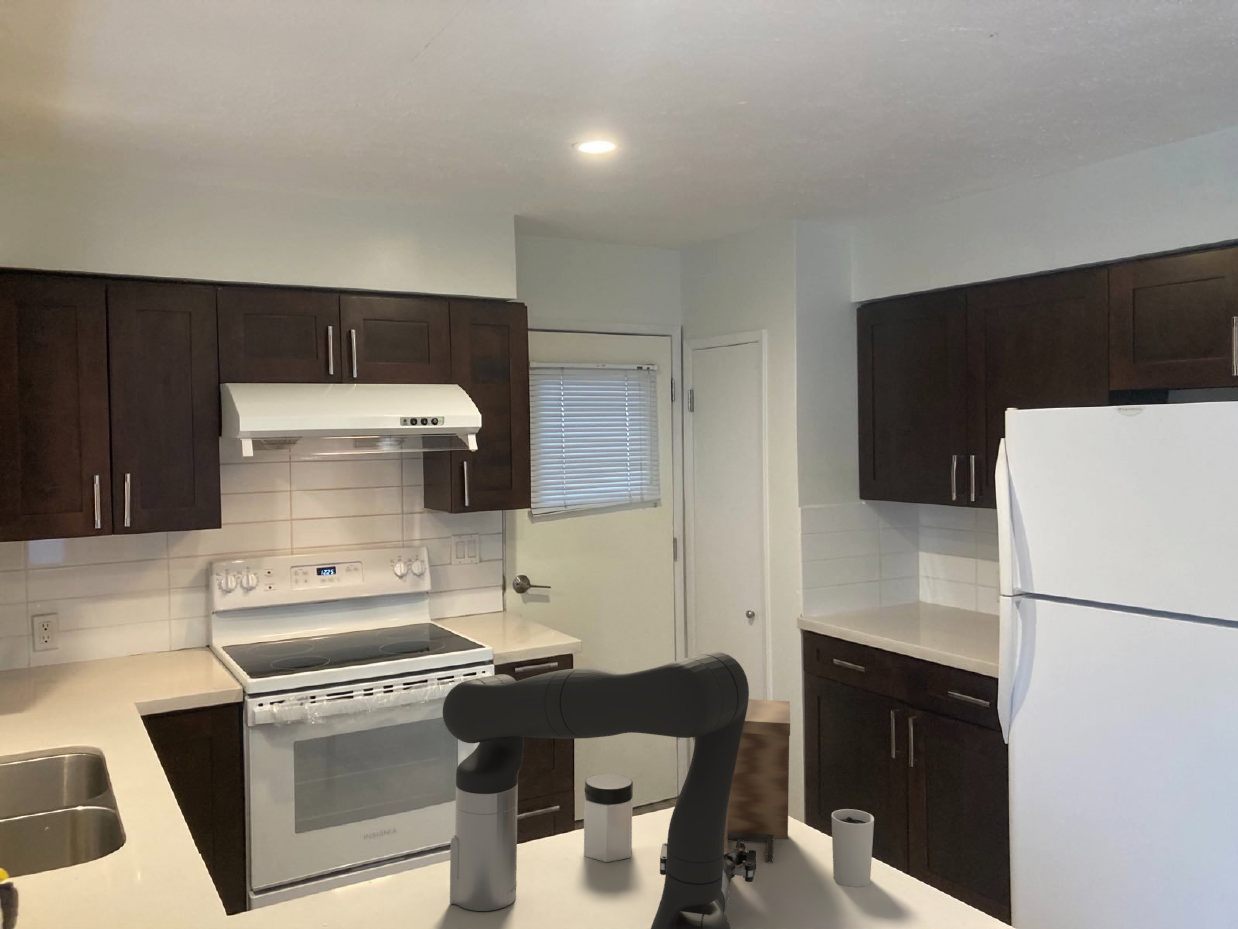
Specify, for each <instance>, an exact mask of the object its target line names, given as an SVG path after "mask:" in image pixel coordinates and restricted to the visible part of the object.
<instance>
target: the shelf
mask: <svg viewBox="0 0 1238 929" xmlns="http://www.w3.org/2000/svg"><path fill="white" fill-rule="evenodd" d="M790 702H791V701H789V700H788V701H787V700H772V699H771V700H769V699H754V698H753V699H752V698H751V699H750V698H749V700H748V708H747V713H746V718H745V723H744V727H743V732H742V736H741V741H740V745H739V750H738V755H737V760H736V765H735V770H734V775H733V780H732V785H731V791H730V797H729V802H728V836H727V841H732V842H734V841H735V842H736V841H737V839H739V840H741V842H742V843H745V842H746V843H757V844H759V843H760V844H766V863H769V864H770V863H771V864H772V863H773V862H774V839H785V840H788V839H789V792H790V791H789V787H790V786H789V785H790V784H789V780H790V779H789V774H790V736H791V705H790V704H791V703H790Z"/></svg>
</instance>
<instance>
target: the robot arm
mask: <svg viewBox="0 0 1238 929" xmlns="http://www.w3.org/2000/svg"><path fill="white" fill-rule="evenodd" d="M749 697H750V688H749V682H748V677H747V674H746V673H745V670H744V668H743V666H741V664H740V663H739V662H738V661H737V660H736V659H735V658H734V657H733V656H731V655H729V654H727V653H725V652H721V651H720V652H719V651H715V652H708V653H702V654H698V655H694V656H689V657H686V658H682V659H677V660H674V661H672V662H669V663H666V664H662V665H659V666H655V667H651V668H648V669H643V670H638V671H634V672H628V673H617V672H614V671H611V670H609V669H606V668H602V667H601V668H600V667H580V668H569V669H567V668H566V669H561V670H557V671H556V670H555V671H549V672H546V673H542V674H538V675H537V674H536V675H534V676H531V677H527V678H526V677H525V678H523V679H520V680H516V679H515V678H514V677H513V676H511V675H509V674H505V673H504V674H494V675H488V676H484V677H483V676H482V677H478V678H473V679H468V680H464V681H462V682H459V683H457V685H455V686H454V687H452V688H451V689H450V690H449V692H448V693H447V695H446V697H445V699H444V701H443V704H442V719H443V722H444V725H445V726H446V728H447V730H448V732H449V733H450V734H451V735H452V736H453V737H454V738H455V739H457V740H459V741H461V742H463V743H467V744H477V746H476V748H475V749H474V750H473V752H472V753H470V754H469V755H468V756H467V757H466V758H465V759H463V760H462V761H461V762H460V763H459V764H458V766H457V767H456V771H455V825H454V827H455V832H454V834H455V835H453V836H452V837H451V840H450V858H449V859H450V862H449V864H450V867H449V868H450V869H449V873H450V874H449V904H450V905H451V904H452V905H457V906H459V907H460V908H463V909H465V910H470V911H477V912H488V911H496V910H500V909H503V908H506V907H508V906H510V905H511V904H512V903H514V902H515V900H516V898H517V886H518V885H517V882H518V881H517V870H518V869H517V860H518V858H517V857H518V855H517V854H518V853H517V852H518V851H517V850H518V791H519V790H518V788H519V787H518V782H519V772H520V770H521V767H522V765H523V760H524V748H525V738H534V739H535V738H536V739H562V740H563V739H564V740H565V739H566V740H568V739H570V740H573V739H593V738H604V737H612V736H617V735H622V734H630V733H632V734H633V733H634V734H635V733H636V734H646V735H654V736H663V737H672V738H679V739H680V738H681V739H691V738H694V747H693V753H692V757H691V761H690V765H689V769H688V772H687V775H686V777H685V780H684V782H683V786H682V787H681V790H680V792H679V795H678V798H677V800H676V803H675V805H674V808H673V810H672V814H671V818H670V820H669V827H668V830H667V831H668V833H667V838H666V839H667V841H666V842H663V843H662V844H661V849H660V854H659V875H661V876H664V877H665V878H664V883H663V884H664V885H663V890H662V894H661V899H660V901H659V905H658V909H657V911H656V914H655V916H654V919H653V921H652V924H651V927H650V929H731V927H732V926H731V925H730V922H729V920H728V917H727V916H726V914H725V910H726V908H727V906H728V902H729V899H730V890H731V889H730V888H731V882H732V879H734V878H735V877H736V876H740V877H742V878H744V881H745V882H746V883H753V882H754V878H755V875H756V870H757V851H756V850H754V849H750V850H748V851H746V843H745V842H742V841H741V840H739V839H737V841H735V848H733V849H731V848H730V847H727V849H725V850H724V841H725V827H726V817H727V809H728V802H729V797H730V791H731V785H732V780H733V775H734V770H735V765H736V760H737V755H738V750H739V745H740V741H741V736H742V732H743V727H744V723H745V718H746V713H747V708H748V700H749V699H750V698H749ZM726 857H727V858H726Z"/></svg>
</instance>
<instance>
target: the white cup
mask: <svg viewBox="0 0 1238 929" xmlns="http://www.w3.org/2000/svg"><path fill="white" fill-rule="evenodd" d="M874 825H875V817H874V816H873V815H872V814H871V813H868V812H866V811H864V810H860V809H859V810H858V809H849V808H845V809H844V808H843V809H838V810H834V811H833V812H831V833H832V834H831V837H832V839H831V840H832V842H831V843H832V871H833V878H832V879H833V880H834V881H835V882H836V883H837V884H840V885H841V886H842V885H843V886H846V887H851V888H852V887H853V888H862V887H866V886H868V885H869V884H870V883H871V876H872V875H871V872H872V858H873V855H872V854H873V841H874V840H873V839H874Z"/></svg>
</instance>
